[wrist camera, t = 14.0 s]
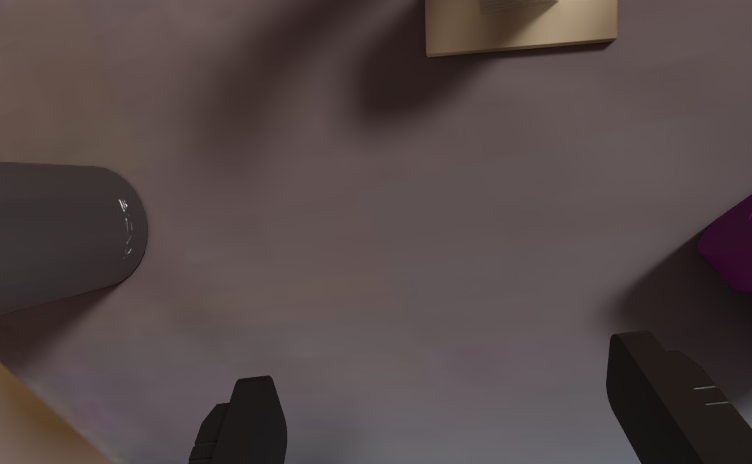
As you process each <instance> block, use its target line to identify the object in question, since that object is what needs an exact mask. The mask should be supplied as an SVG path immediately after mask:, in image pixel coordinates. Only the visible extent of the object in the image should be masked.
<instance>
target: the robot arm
mask: <svg viewBox="0 0 752 464" xmlns="http://www.w3.org/2000/svg"><path fill="white" fill-rule="evenodd" d="M146 243H147V220H146V214H145V211H144V208H143V206H142V203H141V200H140V199H139V197H138V195H137V194H136V192H135V190H134V189H133V188H132V187H131V186H130V185H129V183H128V182H127V181H126V180H125V179H123V178H122V177H121V176H119V175H118V174H117V173H115V172H112V171H110V170H108V169H106V168H101V167H95V166H77V165H56V164H39V163H16V162H0V315H3V314H7V313H11V312H15V311H18V310H22V309H26V308H30V307H33V306H37V305H41V304H44V303H48V302H52V301H56V300H59V299H63V298H67V297H71V296H75V295H78V294H82V293H86V292H90V291H93V290H97V289H101V288H104V287H108V286H112V285H115V284H117V283H119V282H121V281H123V280H124V279H126V278H127V277H128V276H129V275H130V274H131V273H133V271H134V270H135V269H136V267H137V266H138V264H139V263H140V261H141V259H142V256H143V254H144V252H145V247H146ZM606 389H607V395H608V399H609V403H610V405H611V408H612V410H613V412H614V414H615V416H616V418H617V420H618V421H619V423H620V425H621V427H622V429H623V431H624V432H625V434H626V436H627V438H628V440H629V442H630V443H631V445H632V447H633V449H634V451H635V453H636V455H637V456H638V458H639V460H640V462H641V464H752V429H751V427H750V426H749V425H748V424H747V422H746V421H745V420H744V419H743V418H742V416H741V415H740V414H739V413H738V411H737V410H736V409H735V408H734V407H733V405H732V404H729V403H728V399H727V398H726V397H725V396H724V394H723V393H722V392H721V391H720V389H719V388H716V386H715V383H714V382H713V381H712V380H711V379H710V377H709V376H708V375H707V374H706V372H705V371H704V370H703V369H702V368H701V366H700V365H698V364H697V363H695V362H694V361H692V360H691V359H689V358H688V357H686V356H685V355H683V354H682V353H680V352H679V351H669V352H665V350H664V349H663V348H662V346H661V345H660V344H659V342H658V341H657V340H656V339H655V337H654V336H653V335H652V334H651V333H650V332H649V331H638V332H629V333H621V334H614V335H612V337H611V339H610V347H609V358H608V368H607V379H606ZM286 448H287V426H286V421H285V417H284V414H283V411H282V407H281V404H280V401H279V398H278V395H277V392H276V388H275V385H274V382H273V379H272V378H271V376H260V377H251V378H243V379H238V380H237V382H236V384H235V387H234V390H233V393H232V396H231V399H230V402H229V403H222V404H217V405H216V406H215V407H214V408H213V410H212V411H211V412H210V413H209V415H208V416H207V417H206V418H205V420H204V421H203V422H202V424H201V427H200V430H199V433H198V435H197V438H196V441H195V447H193V449H192V452H191V455H190V457H189V464H284V460H285V454H286Z"/></svg>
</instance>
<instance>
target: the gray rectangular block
mask: <svg viewBox="0 0 752 464" xmlns="http://www.w3.org/2000/svg"><path fill="white" fill-rule="evenodd" d="M558 1H559V0H479V8H480V16H481V15H487V14H492V13H498V12H503V11H509V10H514V9H520V8H525V7H531V6H536V5H542V4H547V3H553V2H558Z"/></svg>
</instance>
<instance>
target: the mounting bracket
mask: <svg viewBox="0 0 752 464" xmlns="http://www.w3.org/2000/svg"><path fill="white" fill-rule="evenodd" d="M697 248H698V250H699V252H700V253H701V254H702V255H703V257H704V258H705V259H706V260H707V261H708V262H709V264H710V265H711V266H712V267H713V268H714V269H715V270H716V272H717V273H718V274H719V275H720V276H721V277H722V279H723V280H724V281H725V282H726V283H727V284H728V286H730V287H731V288H732V289H734V290H737V291H742V292H752V195H750V196H749V197H747V198H746V199H744V200H743V201H742V202H740V203H739V204H737V205H736V206H735V207H733V208H732V209H730V210H729V211H727V212H726V213H725V214H723V215H722V216H720V217H719V218H718V219H716V220H715V221H714V222H713V223H712V224H711V225H710V226H709V227H708V228H707V229H706V231H705V232H704V233H703V234H702V236H701V237H700V239H699V241H698V245H697Z"/></svg>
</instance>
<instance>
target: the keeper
mask: <svg viewBox="0 0 752 464" xmlns="http://www.w3.org/2000/svg"><path fill="white" fill-rule="evenodd" d="M425 24H426V55H427V57H438V56H449V55H461V54H473V53H485V52H497V51H509V50H520V49H532V48H544V47H556V46H568V45H579V44H591V43H603V42H614V41H615V40H616V38H617V0H559V1H558V2H553V3H547V4H542V5H536V6H531V7H525V8H520V9H514V10H509V11H503V12H498V13H492V14H487V15H481V16H480V8H479V0H425Z"/></svg>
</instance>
